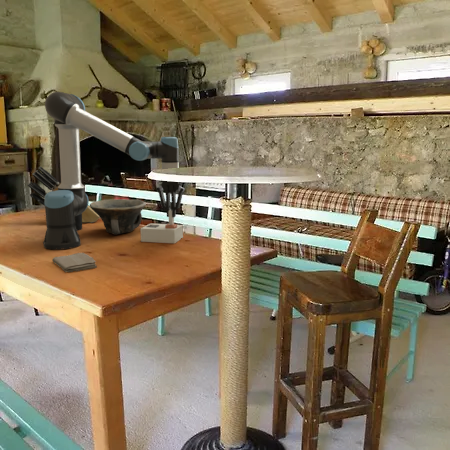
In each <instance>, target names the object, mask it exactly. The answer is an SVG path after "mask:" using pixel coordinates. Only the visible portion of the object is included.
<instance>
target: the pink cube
mask: <svg viewBox="0 0 450 450" xmlns="http://www.w3.org/2000/svg"><path fill="white" fill-rule="evenodd" d="M166 224H167V225H165V228H174V229H175V228H177V225H178V223H174V224H173V225H169V223H166Z"/></svg>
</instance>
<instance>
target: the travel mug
mask: <svg viewBox="0 0 450 450" xmlns="http://www.w3.org/2000/svg"><path fill="white" fill-rule="evenodd" d="M75 227H76V230H77V232H78V231H82V230H83V222H82V214H80V215H77V216H75Z"/></svg>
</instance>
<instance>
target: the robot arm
mask: <svg viewBox="0 0 450 450" xmlns="http://www.w3.org/2000/svg"><path fill="white" fill-rule="evenodd" d="M44 108H45V111H46V113H47V115H48V116H49V117H50V118H52V119H54V126H55V127H56V128H57V129H58V144H59V146H58V147H59V163H60V164H59V167H60V182H61V184H60V185H59V186H58V190H56V191H51V190H50V192H46V193H47V194H46V195H45V198H44V199H45V201H44V204H45V206H44V210H45V220H46V221H45V222H46V231H45V234H44V239H43V248H44V249H47V250H67V249H73V248H78V247H79V246H81V245H82V241H81V238H80V234H79V232H78V231H77V230H76V227H75V216H77V215H80V214H82V213H83V212H84V211H85V210H86V209H87V207H88V205H89V201H90V200H89V197H88V195H87V193H86V191H85V190H86V186H85V185H84V184H83V183H82V170H81V169H82V168H81V147H80V145H81V144H80V130H82V131H84V132H85V133H87V134H89V135H91V136H92V137H94V138H96V139H99V140H100V141H102V142H104V143H106V144H108V145H110V146H112V147H114V148H116V149H118V150H119V151H121V152H123V153H124V154H127V155H128V156H130V157H131V159H133V160H135V161H139V162H141V161H145V160H147V159H148V160H149V159H151V160H152V159H153V160H154V159H161V170H162V169H168V168H179V165H180V164H179V160H180V159H179V148H180V147H179V139H178V137H176V136H161V137H160V141H159V140H158V141H152V140H151V141H148V140H147V141H145V140H144V141H143V140H140V139H139V138H137V137H135V136H133V135H132V134H129V133H127V132H125V131H123V130H122V129H119V128H117V127H116V126H114V125H113V124H110V123H109V122H107V121H105V120H103V119H101V118H99V117H98V116H95V115H94V114H92V113H90V112H88V111H86V106H85V104H84V102H83V100H82V99H81V98H80V97H78V96H77V95H75V94H72V93H68V92H63V91H54V92H51V93H50V94H48V96H47V97H46V99H45V102H44ZM179 169H180V168H179ZM185 190H186V188H185V187H182V186H181V184H180V181H179V182H167V181H162V180H161V183H160V185H159V186H158V187H156V191H157V192H158V195H159V200H160V203H161V207H162V209H163V210H166V218H168V224H169V225H173V224H175V217H176V215H177V214H176V213H177V210H178V209H180V207H181V203H182V199H183V194H184V192H185ZM177 191H178V194H177ZM164 192H165V195H164ZM176 195H177V198H176Z"/></svg>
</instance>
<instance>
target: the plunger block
mask: <svg viewBox="0 0 450 450" xmlns="http://www.w3.org/2000/svg"><path fill="white" fill-rule="evenodd" d="M150 224H152V225H159V226H158V227H156V228H154V227H147V226H148V225H150ZM167 224H168V223H148V224H147V225H144V226H143V227H141V228H140V242H142V243H163V244H176V243H177V242H179V241H180V240H182V239H183V238H184V225H183V224H177V228H175V229H174V228H165V225H167ZM181 238H182V239H181Z"/></svg>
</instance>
